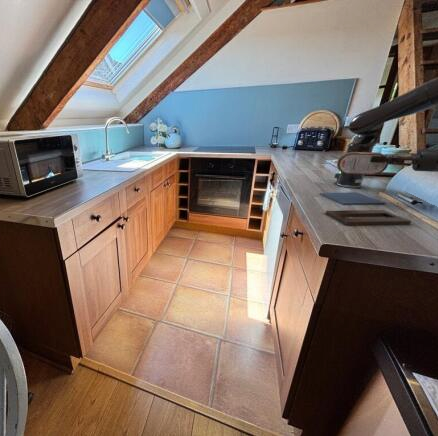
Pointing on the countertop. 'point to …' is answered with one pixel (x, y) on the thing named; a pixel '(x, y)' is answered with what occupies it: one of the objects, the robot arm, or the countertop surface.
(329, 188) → the countertop surface
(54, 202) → the countertop surface
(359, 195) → the mat
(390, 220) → the stand
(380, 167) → the tin
